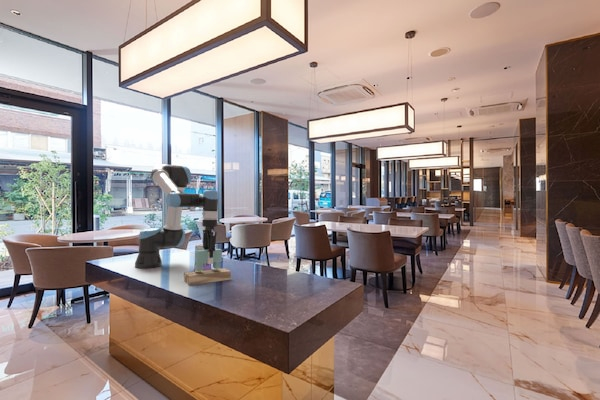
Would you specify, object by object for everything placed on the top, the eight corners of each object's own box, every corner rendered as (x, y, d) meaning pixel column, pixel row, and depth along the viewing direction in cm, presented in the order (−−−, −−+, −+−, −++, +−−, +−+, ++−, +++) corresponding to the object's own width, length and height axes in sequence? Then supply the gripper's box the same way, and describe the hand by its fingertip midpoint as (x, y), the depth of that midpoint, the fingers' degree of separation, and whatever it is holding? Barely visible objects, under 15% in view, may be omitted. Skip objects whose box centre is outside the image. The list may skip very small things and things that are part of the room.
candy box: (203, 274, 171) (205, 245, 171) (193, 273, 171) (194, 245, 171) (211, 268, 184) (212, 242, 185) (202, 268, 185) (203, 242, 185)
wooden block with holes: (183, 281, 155) (184, 272, 155) (223, 275, 168) (224, 268, 168) (189, 285, 148) (189, 276, 148) (230, 279, 161) (230, 271, 161)
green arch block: (194, 269, 156) (195, 250, 156) (218, 266, 164) (218, 248, 164) (197, 270, 152) (198, 251, 152) (221, 268, 160) (222, 249, 160)
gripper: (197, 218, 163) (195, 260, 163) (209, 220, 149) (207, 266, 149) (210, 218, 167) (209, 259, 167) (223, 220, 154) (221, 265, 153)
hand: (208, 262), depth 158 cm, fingers closed on green arch block, 4 cm apart
